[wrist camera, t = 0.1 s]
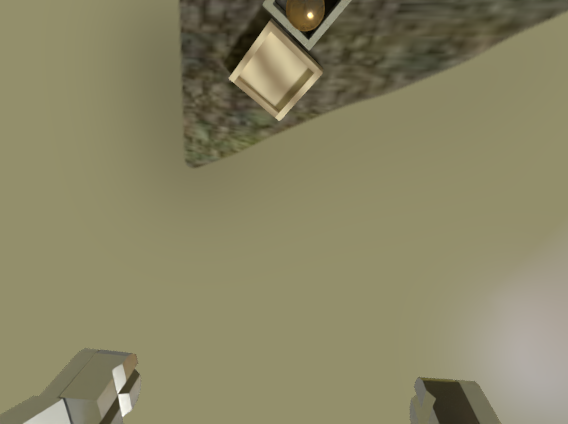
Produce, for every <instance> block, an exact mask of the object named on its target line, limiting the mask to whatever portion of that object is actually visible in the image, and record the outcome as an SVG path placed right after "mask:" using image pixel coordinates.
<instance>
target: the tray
mask: <svg viewBox="0 0 568 424" xmlns="http://www.w3.org/2000/svg"><path fill="white" fill-rule="evenodd" d="M322 74H323V68H322V67H321V66H320V65H319V64H318V63H317V62H316V61H315V60H314V59H313V58H312V57H311V56H310V55H309V54H308V53H307V52H305V51H304V50H303V49H302V48H301V47H300V46H299V45H298V44H297V43H296V42H295V41H294V40H293V39H292V38H291V37H290V36H289V35H288V34H287V33H286V32H285V31H284V30H283V29H282V28H281V27H280V26H279V25H278V24H277V23H276V22H275V21H274V20H273V19H272V18H271V20H270V21H269V22H268V24H267V25H266V27H265V28H264V29H263V31H262V32H261V34H260V35H259V36H258V38H257V39H256V41H255V42H254V43H253V45H252V46H251V48H250V49H249V51H248V52H247V53H246V55H245V56H244V58H243V59H242V60H241V62H240V63H239V65H238V66H237V67H236V69H235V70H234V72H233V73H232V74H231V76H230V77H229V79H230V80H231V81H232V82H233V83H235V84H236V85H237V86H238V87H239V88H241V89H242V90H243V91H244V92H245V93H247V94H248V95H249V96H250V97H251V98H252V99H254V100H255V101H256V102H257V103H258V104H260V105H261V106H262V107H263V108H264V109H266V110H267V111H268V112H269V113H270V114H272V115H273V116H274V117H275V118H276V119H278V120H279V121H280V120H281V119H282V118H283V117H284V116H285V114H286V113H287V112H288V111H289V110H290V109H291V108H292V107H293V106H294V105H295V103H296V102H297V101H298V100H299V99H300V98H301V97H302V96H303V95H304V93H305V92H306V91H307V90H308V89H309V88H310V87H311V86H312V85H313V83H314V82H315V81H316V80H317V79H318V78H319V77H320V76H321V75H322Z"/></svg>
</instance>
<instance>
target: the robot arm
mask: <svg viewBox="0 0 568 424" xmlns="http://www.w3.org/2000/svg"><path fill="white" fill-rule="evenodd" d="M137 364H138V361H137V356H136V354H133V353H126V352H117V351H109V350H98V349H88V348H85V349H83V350H81V351H79V352H78V353H77V354H76V355H75V356H74V358H73V359H72V360H71V361H70V362H69V363H68V364H67V365H66V366H65V368H64V369H63V370H62V371H61V372H60V373H59V374H58V375H57V377H56V378H55V379H54V380H53V381H52V382H51V383H50V385H48V387H47V388H46V389H45V390H44V391H43V392H42V393H41V394H40V395H39V396H32V397H31V398H29V399H27V400H25V401H23V402H22V403H20V404H18V405H16V406H15V407H13V408H11V409H9V410H7V411H6V412H4V413H2V414H0V424H123V416H124V415H126V414H127V413H128V412H129V411H131V410H132V409H133V407H134V405H135V403H136V402H137V399H138V396H139V393H140V390H141V376H140V374H139V373H138V372H137V370H136V369H135V367H136V365H137ZM414 388H415V391H416V394H417V395H415V396H414V397H413V398H412V399H411V404H410V421H411V424H501V422H500V421H499V419H498V417H497V415H496V414H495V412H494V410H493V408H492V407H491V405H490V403H489V402H488V400H487V398H486V396H485V395H484V393H483V391H482V389H481V388H480V386H479V385H478V384H477V383H476V382H475V381H464V380H452V379H439V378H425V377H418V378H417V380H416V382H415V386H414Z"/></svg>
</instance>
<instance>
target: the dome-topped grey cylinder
mask: <svg viewBox="0 0 568 424" xmlns="http://www.w3.org/2000/svg"><path fill="white" fill-rule="evenodd" d="M324 11H325V5H324V0H288V1H287V5H286V13H287V17H288V20H289V22H290V23H291V25H292V26H293V27H294V28H296V29H298V30H300V31H310V30H312V29H314V28H316V27H317V26H318V25H319V23H320V22H321V20H322V18H323V16H324Z"/></svg>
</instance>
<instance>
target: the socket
mask: <svg viewBox="0 0 568 424" xmlns="http://www.w3.org/2000/svg"><path fill="white" fill-rule="evenodd" d="M350 1H351V0H338V1H337V3H336V4H335V5H334V6H333V7H332V9H331V10H330V11H329V12H328V14H327V15H326V16H325V17H324V19H323V20H322V21H321V22H320V23H319V25H318V26H317V27H316V28H315V30H314V31H313V32H312V33H311V35H310V36H309V35H308V34H307V33H306V32H305V31H300V30H298V29H296V28H294V27H293V26H292V25H291V23H290V22H289V20H288V17H287V13H286V12H285V11H284V10H283V9H282V8H281V7H280V6H279V5H278V4H277V3H276V2H275V0H265V2H264V3H263V6H264V7H265V8H266V9H267V10H268V11H269V12H270V13H271V14H272V15H273V16H274V17H275V18H276V19H277V20H278V21H279V22H280V23H281V24H282V25H283V26H284V27H285V28H286V29H287V30H288V31H289V32H290V33H291V34H292V35H293V36H294V37H295V38H296V39H298V40H299V41H300V42H301V43H302V44H303V45H304V46H305V47H306V48H307V49H308V50H310V49H311V48H312V47H313V45H314V44H315V43H316V42H317V41H318V39H319V38H320V37H321V36H322V35H323V33H324V32H325V31H326V30H327V29H328V27H329V26H330V25H331V24H332V23H333V21H334V20H335V19H336V18H337V17H338V15H339V14H340V13H341V12H342V11H343V9H344V8H345V7H346V6H347V5H348V4H349V2H350Z"/></svg>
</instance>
